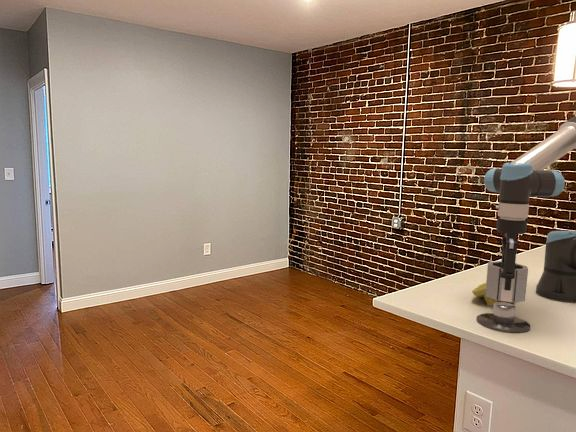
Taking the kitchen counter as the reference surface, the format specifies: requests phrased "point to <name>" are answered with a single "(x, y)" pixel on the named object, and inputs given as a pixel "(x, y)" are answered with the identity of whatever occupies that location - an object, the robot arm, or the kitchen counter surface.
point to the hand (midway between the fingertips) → (504, 295)
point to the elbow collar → (496, 282)
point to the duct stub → (503, 319)
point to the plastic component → (483, 294)
